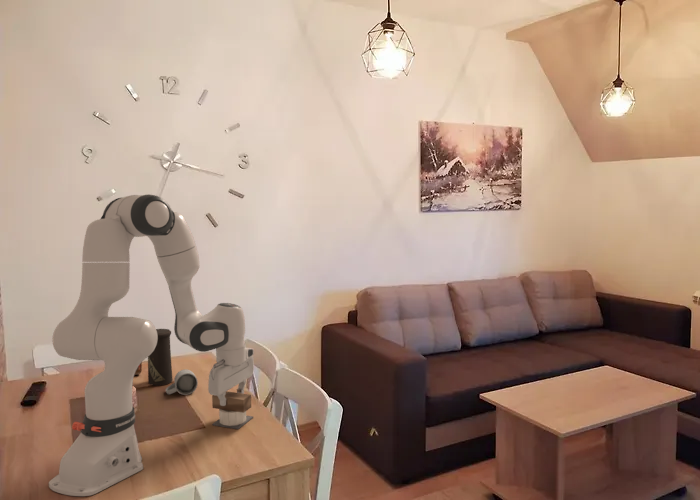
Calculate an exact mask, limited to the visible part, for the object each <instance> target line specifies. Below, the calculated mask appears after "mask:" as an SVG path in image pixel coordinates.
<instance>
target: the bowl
mask: <svg viewBox="0 0 700 500" xmlns="http://www.w3.org/2000/svg"><path fill="white" fill-rule="evenodd" d="M218 410H219V411H218V415H219V419H220V423H221V424H222V425H227V426H233V425H239V424H242V423H244V422H245V421H246V416H247V411H245V412H244V413H242V412H236V411H229V410H222V409H218Z"/></svg>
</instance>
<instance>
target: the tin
mask: <svg viewBox="0 0 700 500" xmlns="http://www.w3.org/2000/svg"><path fill="white" fill-rule="evenodd" d="M142 363H143V361H142V362H141V363H140V365H139V366H138V368H137V370H136V372H135V374H134V376H137V375H141V373H142V370H143V368H142V366H143V364H142Z"/></svg>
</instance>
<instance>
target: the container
mask: <svg viewBox="0 0 700 500" xmlns="http://www.w3.org/2000/svg"><path fill="white" fill-rule="evenodd" d="M156 331H157V335H158V339H157V345H156V347H155V349H154V351H153V352H152V353H151V354H150V355H149V356H148V357H147V380H148V381H147V382H148V384H149V385H150V386H155V387H156V386H158V387H159V386H165V385H169V384H171V383H173V368H172V355H171V351H172V350H171V334H172V331H171V330H170V329H168V328H156Z"/></svg>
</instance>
